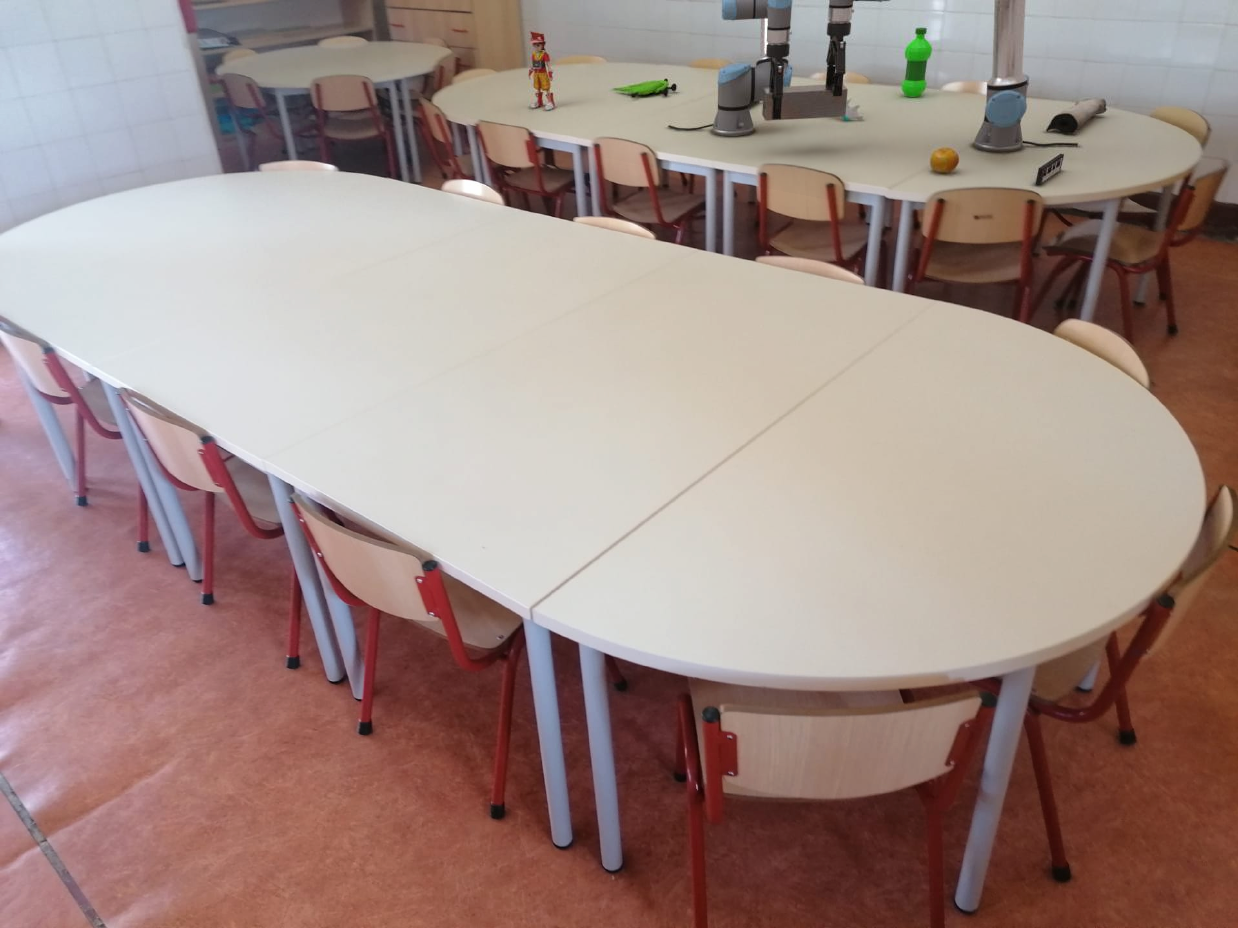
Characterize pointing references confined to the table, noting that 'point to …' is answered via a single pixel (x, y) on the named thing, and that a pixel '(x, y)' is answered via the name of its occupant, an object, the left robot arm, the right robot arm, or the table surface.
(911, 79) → the plastic bottle
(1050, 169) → the midi keyboard
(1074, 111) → the rolled mat
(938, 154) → the fruit
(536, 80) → the toy
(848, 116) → the anatomical model
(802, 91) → the box
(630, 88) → the toy
